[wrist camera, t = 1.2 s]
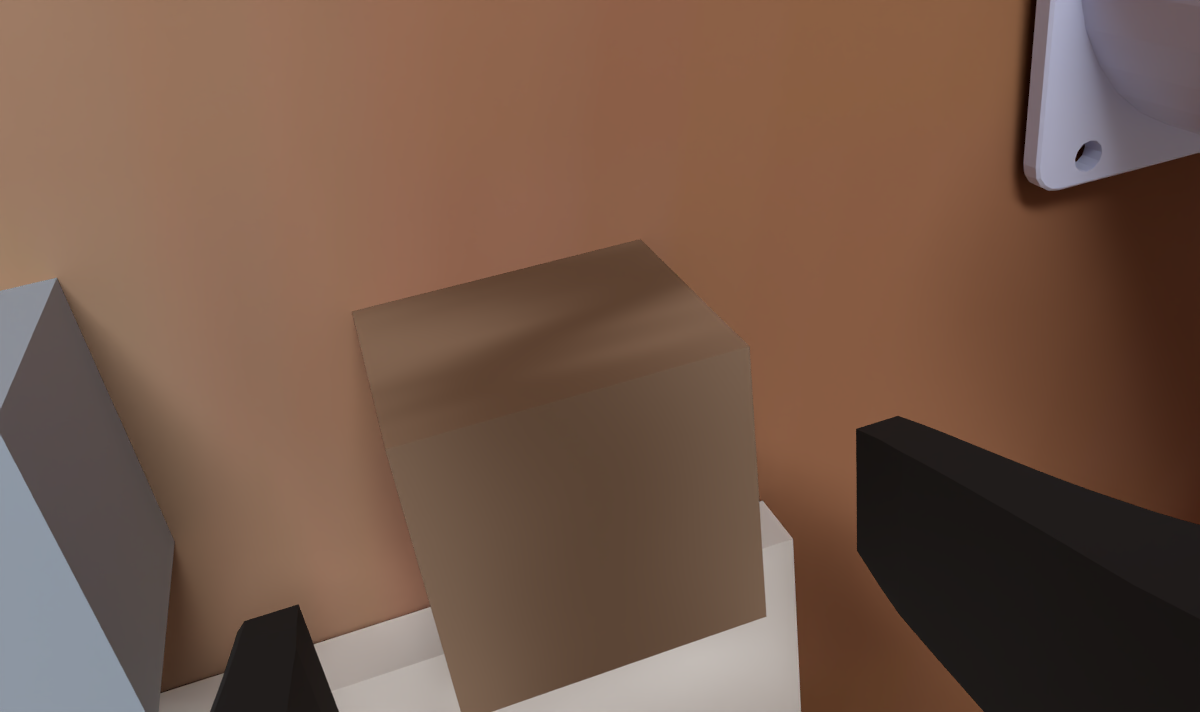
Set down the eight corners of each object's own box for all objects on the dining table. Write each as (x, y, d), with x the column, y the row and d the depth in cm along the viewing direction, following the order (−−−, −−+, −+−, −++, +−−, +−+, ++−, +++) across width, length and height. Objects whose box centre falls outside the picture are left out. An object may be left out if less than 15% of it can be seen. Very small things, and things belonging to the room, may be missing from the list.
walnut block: (637, 237, 15) (749, 346, 12) (666, 469, 18) (766, 616, 14) (351, 308, 15) (385, 449, 11) (418, 544, 17) (463, 721, 13)
